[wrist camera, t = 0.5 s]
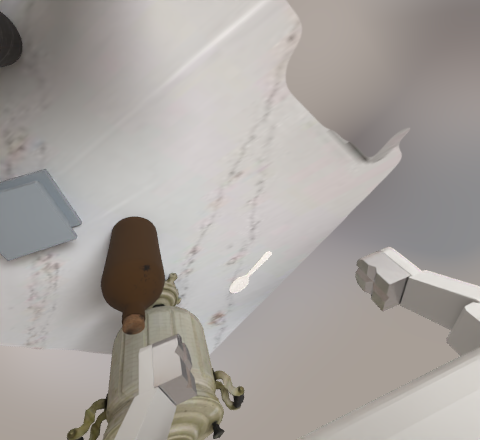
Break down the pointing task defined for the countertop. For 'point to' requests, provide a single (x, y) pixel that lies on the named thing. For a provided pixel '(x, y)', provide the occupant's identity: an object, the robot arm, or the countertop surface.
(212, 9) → the countertop surface
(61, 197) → the stand
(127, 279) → the olive oil
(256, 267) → the spoon
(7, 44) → the travel mug
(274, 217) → the countertop surface
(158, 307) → the samovar
